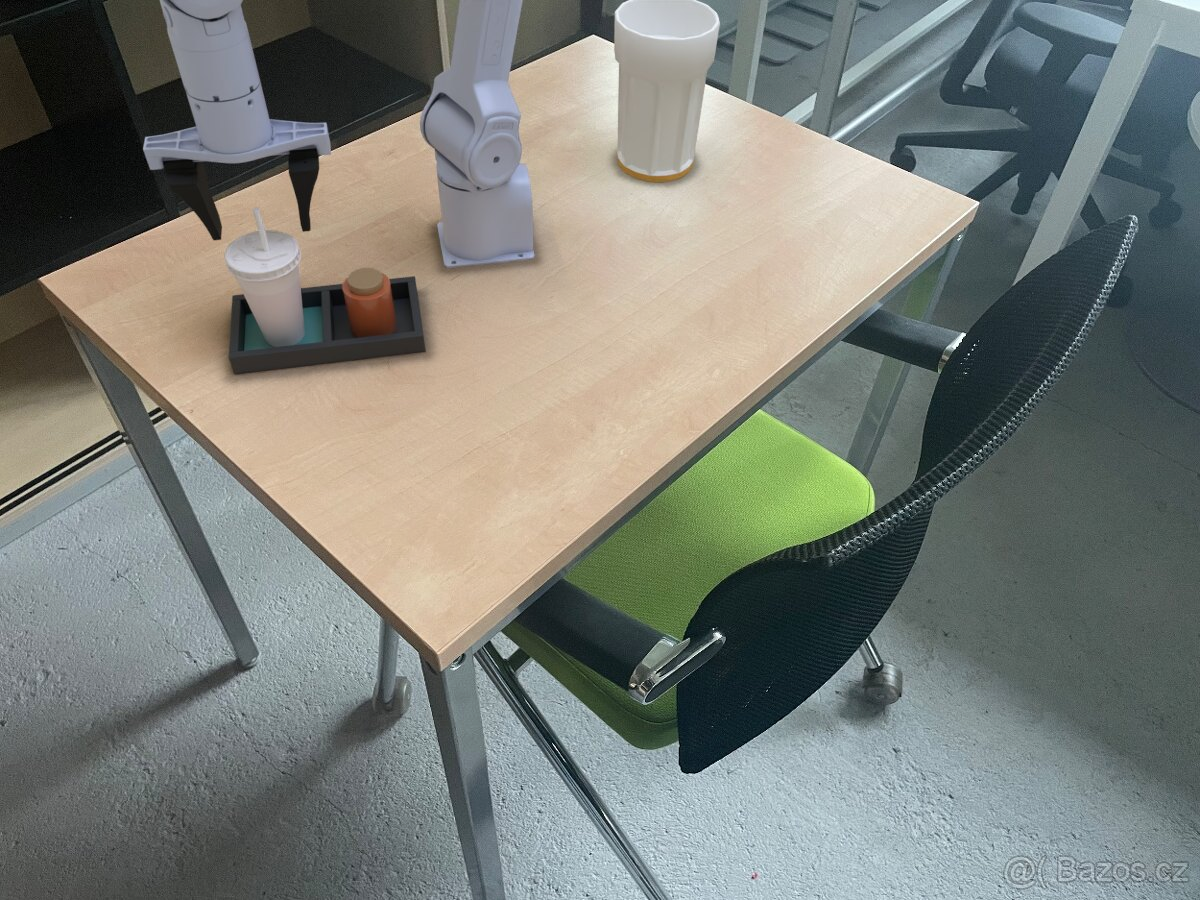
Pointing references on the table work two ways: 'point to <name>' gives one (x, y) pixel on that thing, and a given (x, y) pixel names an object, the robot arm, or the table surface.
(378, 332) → the spice pot
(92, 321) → the table surface
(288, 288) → the smoothie
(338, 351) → the holder
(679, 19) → the cup
